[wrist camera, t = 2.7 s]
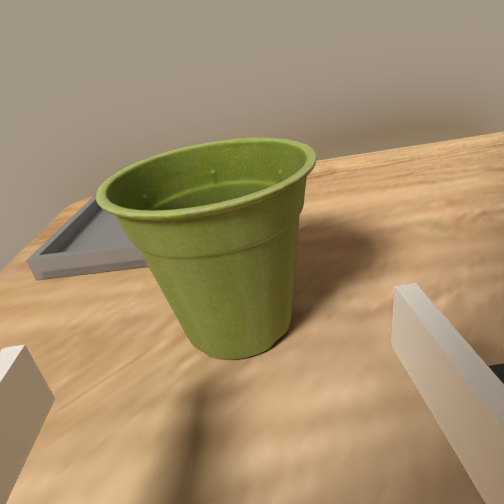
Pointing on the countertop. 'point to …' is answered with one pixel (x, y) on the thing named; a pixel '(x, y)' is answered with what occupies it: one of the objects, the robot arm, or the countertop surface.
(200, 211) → the plant pot
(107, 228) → the tray
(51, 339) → the countertop surface
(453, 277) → the countertop surface
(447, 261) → the countertop surface
